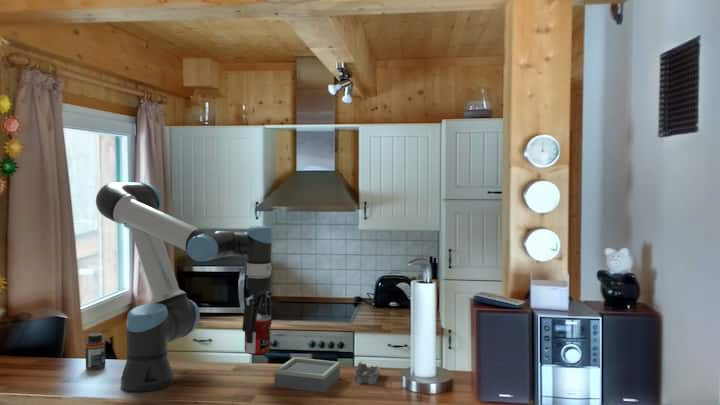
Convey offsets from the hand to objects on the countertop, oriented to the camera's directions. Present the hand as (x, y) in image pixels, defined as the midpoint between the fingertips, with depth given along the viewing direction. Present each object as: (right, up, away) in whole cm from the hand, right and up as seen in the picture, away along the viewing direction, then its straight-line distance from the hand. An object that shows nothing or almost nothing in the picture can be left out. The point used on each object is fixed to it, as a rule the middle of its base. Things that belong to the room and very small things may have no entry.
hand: (257, 349), depth 177 cm
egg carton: (+34, -11, +3) cm, 36 cm away
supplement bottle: (-56, -10, +12) cm, 58 cm away
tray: (+16, -10, -1) cm, 19 cm away
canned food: (0, -1, 0) cm, 1 cm away
